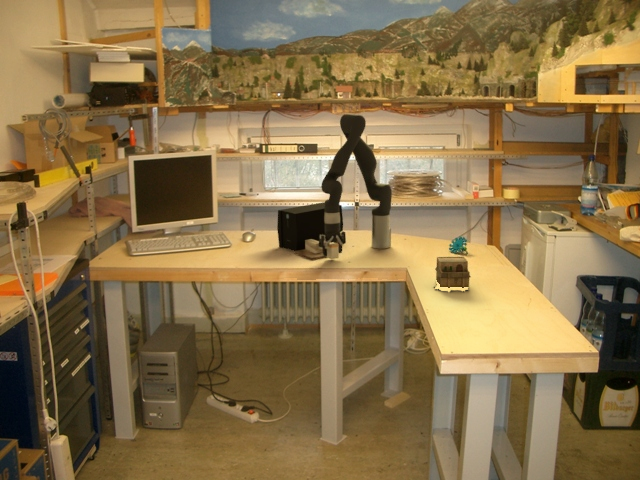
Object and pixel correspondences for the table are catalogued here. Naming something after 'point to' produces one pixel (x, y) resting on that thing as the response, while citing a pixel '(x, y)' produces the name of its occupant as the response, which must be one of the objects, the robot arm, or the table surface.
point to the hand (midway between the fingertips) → (332, 254)
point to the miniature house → (452, 272)
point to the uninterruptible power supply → (302, 225)
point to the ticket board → (309, 254)
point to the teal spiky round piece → (458, 245)
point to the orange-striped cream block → (332, 251)
